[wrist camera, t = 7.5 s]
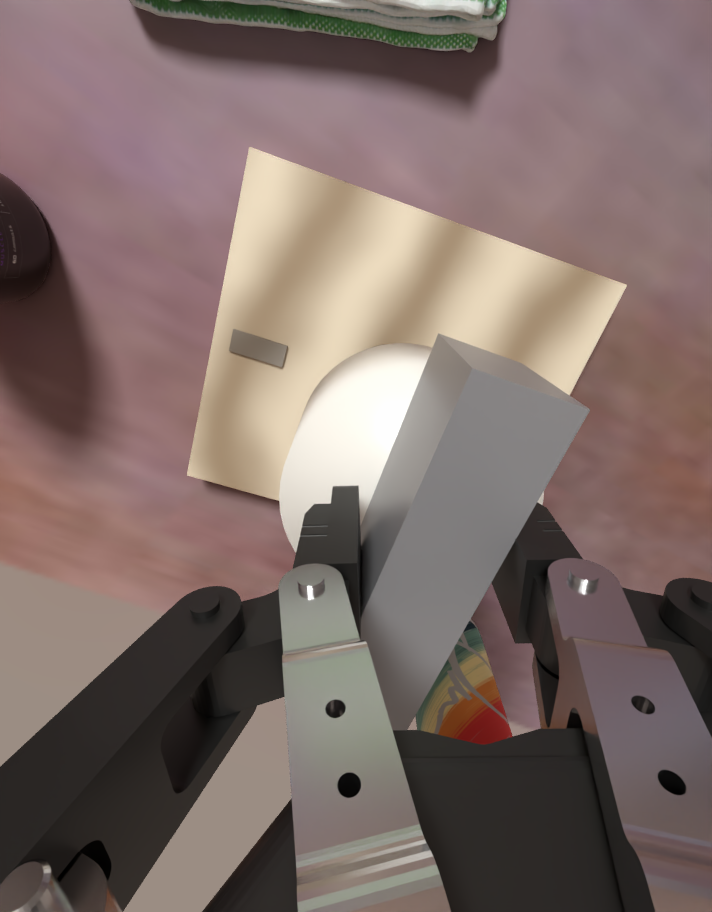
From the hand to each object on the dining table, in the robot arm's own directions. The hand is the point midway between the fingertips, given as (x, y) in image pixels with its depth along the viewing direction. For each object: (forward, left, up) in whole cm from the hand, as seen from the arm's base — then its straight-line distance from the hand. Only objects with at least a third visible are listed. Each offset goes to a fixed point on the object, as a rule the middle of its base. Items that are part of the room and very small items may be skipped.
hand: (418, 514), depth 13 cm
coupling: (0, 0, -6) cm, 6 cm away
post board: (0, 0, -16) cm, 16 cm away
